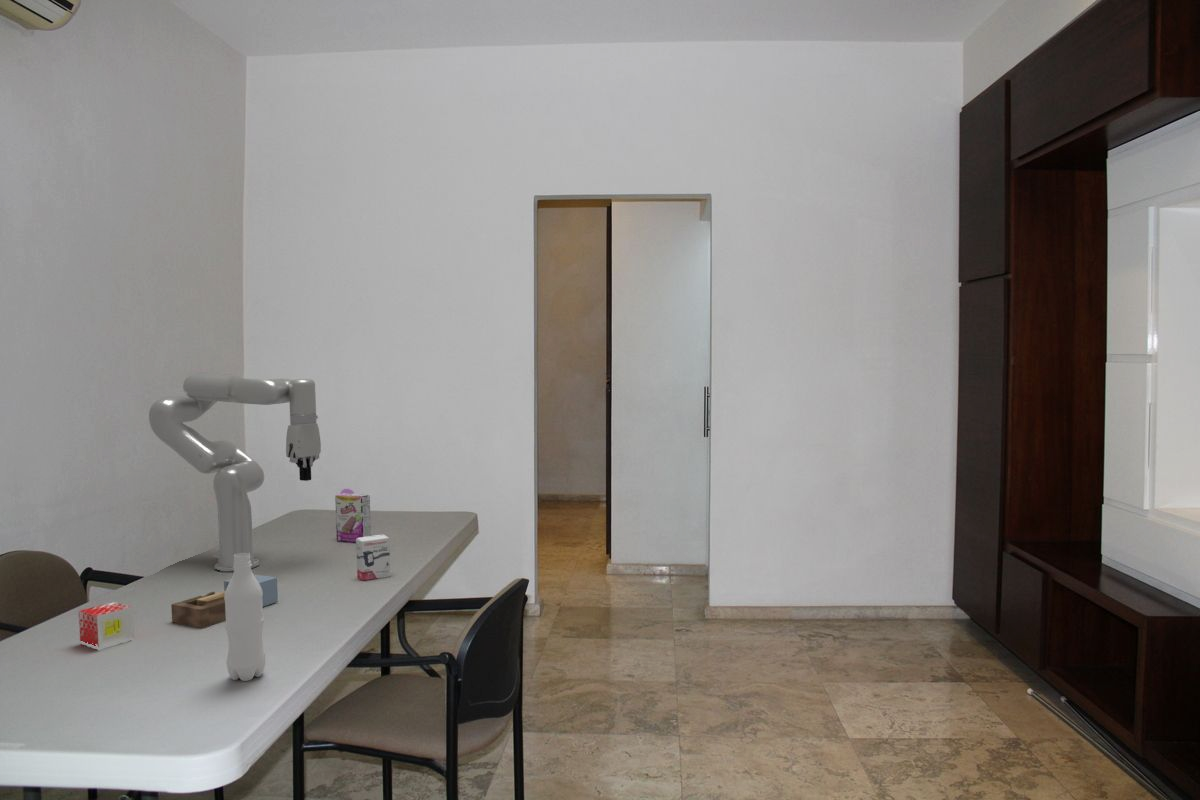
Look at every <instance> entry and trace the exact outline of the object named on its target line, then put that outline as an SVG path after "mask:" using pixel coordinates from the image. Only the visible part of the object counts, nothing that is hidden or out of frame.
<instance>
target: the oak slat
mask: <svg viewBox="0 0 1200 800" xmlns="http://www.w3.org/2000/svg"><path fill="white" fill-rule="evenodd" d="M224 595H225V591H224V590H223V591H221V592H217V593H215V594H214V595H210V596H207V597H203V598H200V599H197V606H204V605H208V604H211V603H214V602H217V601H220V600H224Z"/></svg>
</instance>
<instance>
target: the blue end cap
mask: <svg viewBox="0 0 1200 800" xmlns="http://www.w3.org/2000/svg"><path fill="white" fill-rule="evenodd" d="M253 575H254V576H255V578H256V579H257V581H258V583H259V584H260V586H261V588H262V592H263V596H262V603H263V608H264V607H266V606H269V605H272V604H275V603H278V601H279V598H278V597H279V596H278V577H276V576H275V577H274V576H269V575H260V574H254V573H253ZM230 580H231V578H229V579H225V580H223V589H224V590H223V592H224V591H226V589H227V586H228V584H229V582H230Z"/></svg>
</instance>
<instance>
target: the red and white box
mask: <svg viewBox="0 0 1200 800" xmlns="http://www.w3.org/2000/svg"><path fill="white" fill-rule="evenodd" d="M77 613H78V627H79V642H80V641H83V642H85V643H87V642H88V644H92V643H93V644H92V645H94V646H96V645H95V644H97V645H98V647H100V646H101V645H107V644H110V643H114V642H117V641H122V640H125V639H129V638H134V639H135V632H134V631H135V630H134V629H135V627H134V610H133V606H131V605H127V604H123V603H119V602H116V601H113V602H108V603H105V604H100V605H97V606H93V607H88V608H84V609H81V610H78V611H77Z"/></svg>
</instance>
